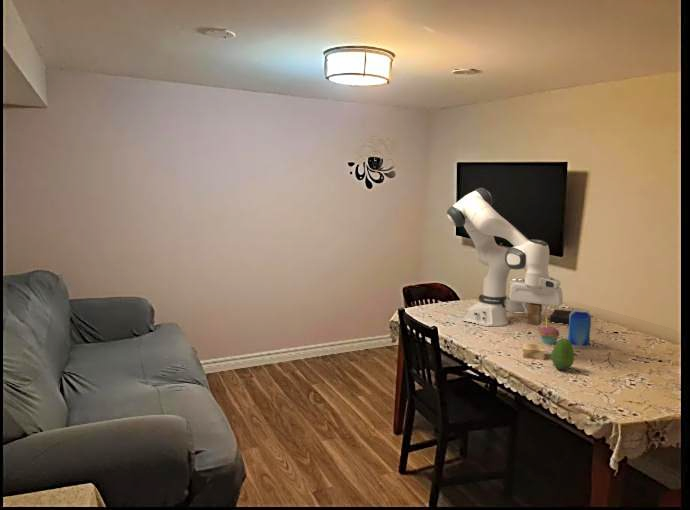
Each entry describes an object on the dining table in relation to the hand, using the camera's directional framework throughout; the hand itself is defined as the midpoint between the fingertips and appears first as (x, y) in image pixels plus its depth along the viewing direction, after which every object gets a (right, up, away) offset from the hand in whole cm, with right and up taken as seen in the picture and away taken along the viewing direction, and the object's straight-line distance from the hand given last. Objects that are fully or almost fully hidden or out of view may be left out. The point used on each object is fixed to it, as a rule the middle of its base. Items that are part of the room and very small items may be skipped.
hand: (534, 314), depth 212 cm
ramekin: (+18, -7, +77) cm, 80 cm away
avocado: (+6, -20, -13) cm, 24 cm away
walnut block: (0, -4, 0) cm, 4 cm away
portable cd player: (+38, -11, +56) cm, 69 cm away
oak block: (0, -18, +2) cm, 18 cm away
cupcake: (+13, -15, +20) cm, 28 cm away
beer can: (+24, -16, +15) cm, 33 cm away
